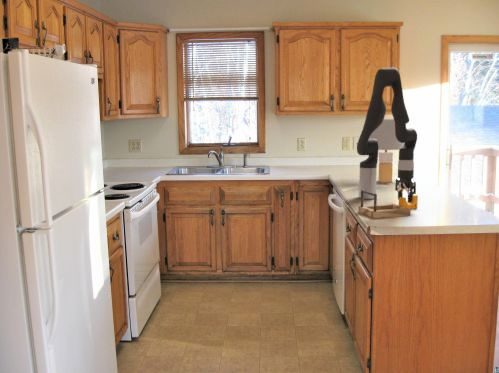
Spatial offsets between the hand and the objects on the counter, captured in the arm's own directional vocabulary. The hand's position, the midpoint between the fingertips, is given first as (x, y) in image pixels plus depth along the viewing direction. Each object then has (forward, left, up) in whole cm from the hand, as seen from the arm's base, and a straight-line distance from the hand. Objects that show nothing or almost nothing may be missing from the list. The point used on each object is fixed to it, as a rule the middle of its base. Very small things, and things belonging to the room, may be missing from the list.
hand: (405, 201), depth 262 cm
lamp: (-82, +40, -4) cm, 92 cm away
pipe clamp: (+1, +1, -4) cm, 4 cm away
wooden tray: (+8, -17, -4) cm, 19 cm away
